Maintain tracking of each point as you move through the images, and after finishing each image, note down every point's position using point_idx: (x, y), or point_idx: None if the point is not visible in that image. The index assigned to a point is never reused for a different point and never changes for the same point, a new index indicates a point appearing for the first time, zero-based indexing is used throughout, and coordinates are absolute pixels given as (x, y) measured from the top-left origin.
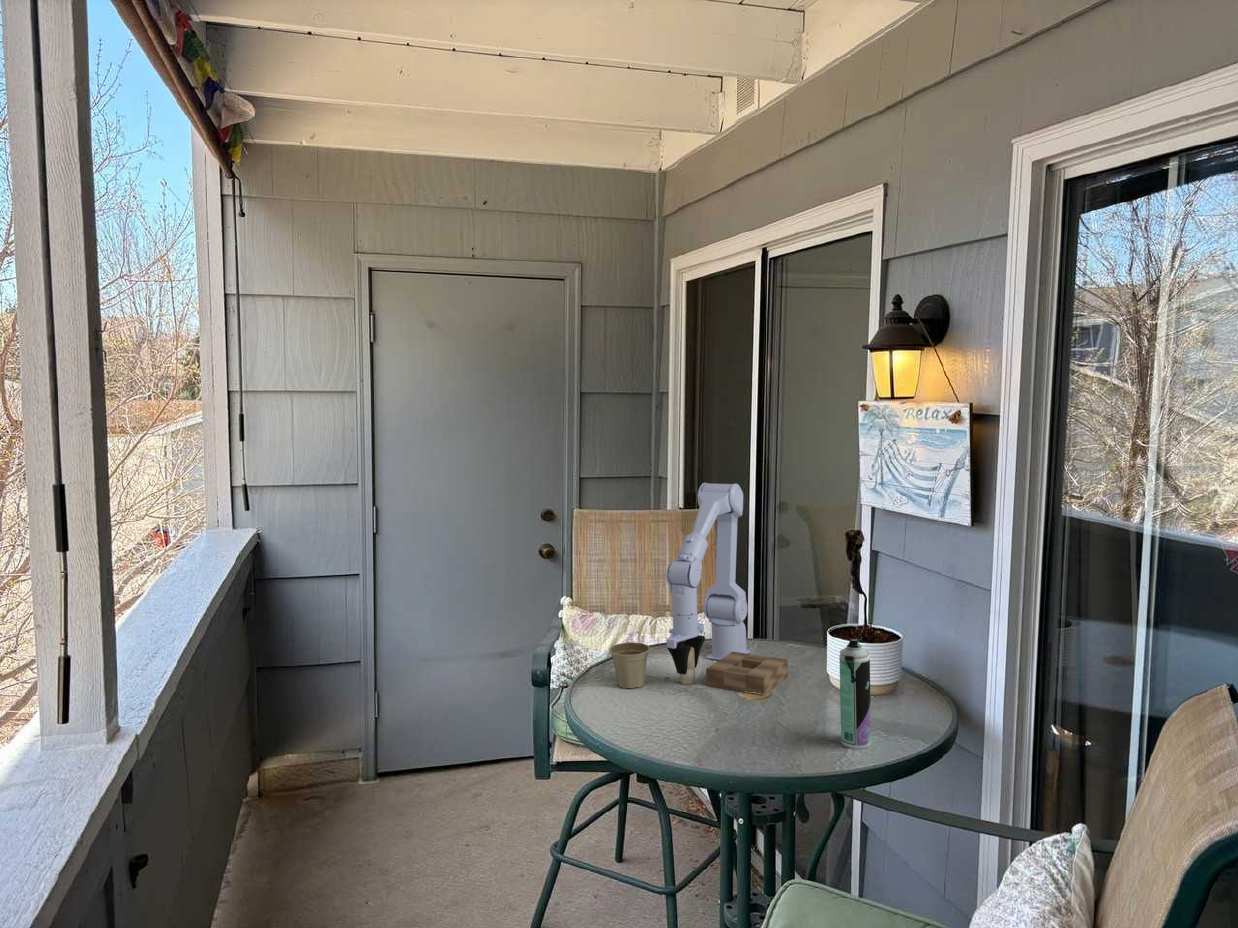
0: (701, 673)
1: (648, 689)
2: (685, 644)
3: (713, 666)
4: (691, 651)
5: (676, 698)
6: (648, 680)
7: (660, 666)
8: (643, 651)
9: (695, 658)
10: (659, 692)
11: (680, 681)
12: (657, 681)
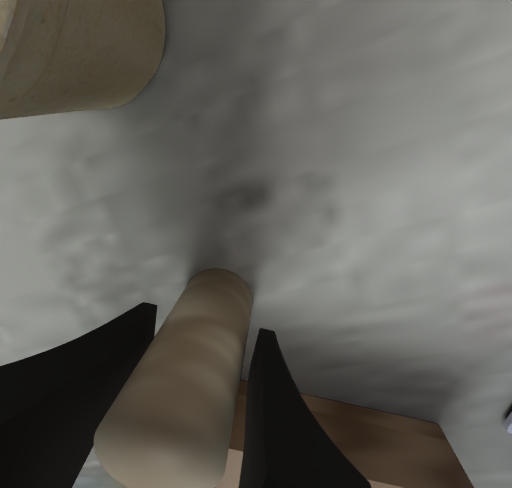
0: (347, 329)
1: (70, 155)
2: (259, 443)
3: (228, 458)
4: (135, 481)
5: (38, 300)
6: (187, 107)
7: (442, 93)
8: (60, 15)
9: (248, 410)
10: (61, 218)
11: (190, 282)
12: (188, 162)
